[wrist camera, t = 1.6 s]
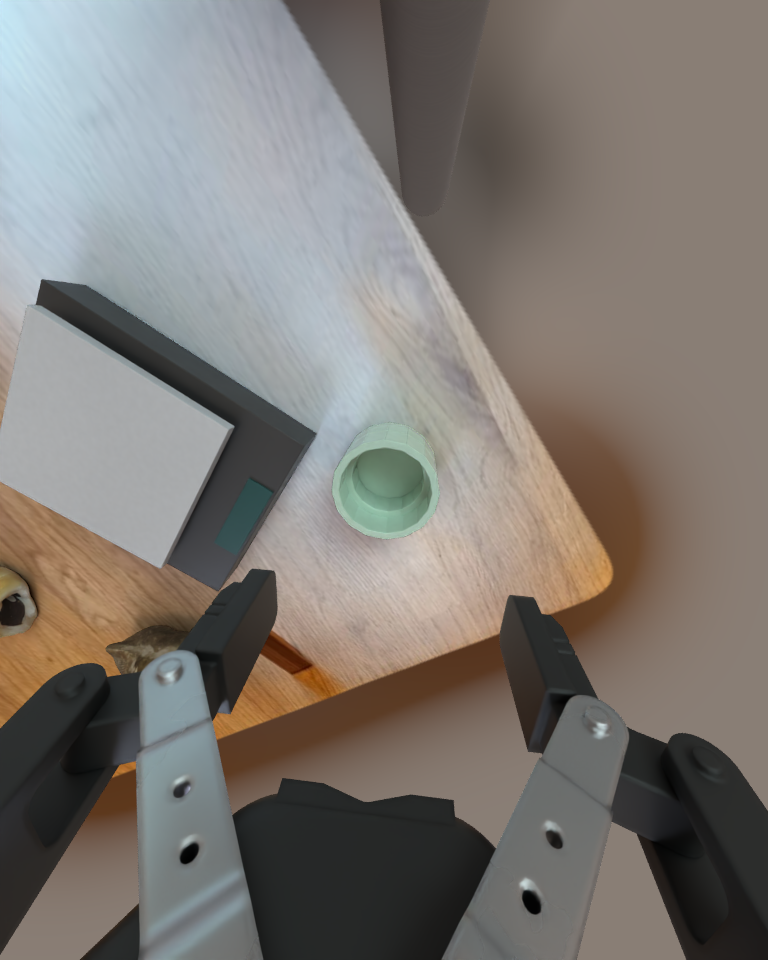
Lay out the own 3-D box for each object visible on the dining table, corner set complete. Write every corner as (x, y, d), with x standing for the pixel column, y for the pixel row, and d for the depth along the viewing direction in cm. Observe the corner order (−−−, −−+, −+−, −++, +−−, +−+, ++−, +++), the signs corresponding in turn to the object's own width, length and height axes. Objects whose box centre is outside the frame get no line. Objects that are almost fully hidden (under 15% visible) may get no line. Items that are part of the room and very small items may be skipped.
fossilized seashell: (239, 656, 31) (141, 593, 31) (178, 742, 27) (67, 669, 28) (242, 667, 37) (159, 614, 37) (192, 739, 33) (101, 679, 34)
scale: (85, 284, 23) (11, 274, 19) (317, 433, 26) (297, 454, 21) (39, 457, 28) (-28, 479, 24) (236, 568, 31) (206, 606, 26)
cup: (377, 402, 24) (368, 418, 20) (453, 454, 25) (461, 480, 21) (330, 475, 27) (313, 503, 22) (402, 520, 28) (399, 556, 23)
